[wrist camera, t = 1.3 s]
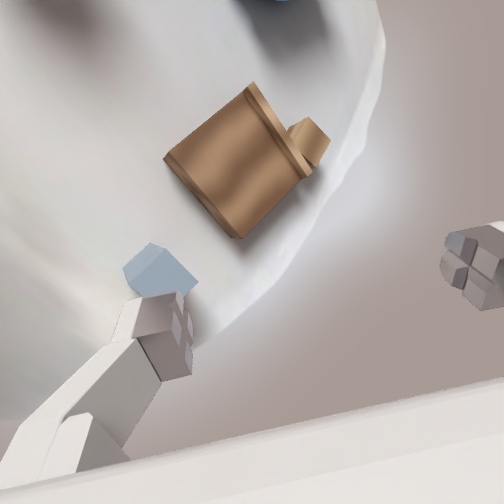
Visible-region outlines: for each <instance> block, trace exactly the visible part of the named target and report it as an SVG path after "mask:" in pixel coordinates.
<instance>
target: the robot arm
mask: <svg viewBox="0 0 504 504" xmlns="http://www.w3.org/2000/svg"><path fill="white" fill-rule="evenodd" d="M444 246H445V247H446V248H447V251H446V252H445V253H444V254H443V256H442V257H441V261H440V270H441V274H442V276H443V277H444V279H445V281H447V282H448V283H449V284H450V285H451V286H453V287H456V288H458V289H461V290H462V295H463V297H465V298H466V299H467V300H468V301H469V302H470V303H471V304H472V305H474V306H475V307H476V308H477V309H478V310H479V311H483V310H489V309H494V308H500V307H504V221H498V222H494V223H489V224H486V225H482V226H479V227H474V228H470V229H465V230H460V231H456V232H451V233H449V234H448V236H447V237H446V239H445V244H444ZM193 335H194V334H193V325H192V321H191V317H190V314H189V311H187V310H186V309H184V299H183V296H182V294H181V292H180V291H179V290H175V291H170V292H165V293H160V294H154V295H149V296H145V297H139V298H134V299H130V300H127V301H126V302H125V303H124V305H123V308H122V311H121V314H120V316H119V319H118V322H117V325H116V328H115V331H114V333H113V336H112V339H111V342H110V344H107V345H104V346H103V347H102V348H101V349H100V350H99V351H98V352H96V353H95V354H94V355H93V356H92V357H91V358H90V359H89V360H88V361H87V362H86V363H85V364H84V365H83V366H82V367H81V368H80V369H79V370H78V371H77V372H75V373H74V374H73V375H72V376H71V377H70V378H69V379H68V380H67V381H66V382H65V383H64V384H63V385H62V386H61V387H60V388H59V389H58V390H57V391H56V392H54V393H53V394H52V395H51V396H50V397H49V398H48V399H47V400H46V401H45V402H44V403H43V404H42V405H41V406H40V407H39V408H38V409H37V410H36V411H35V412H33V413H32V414H31V415H30V416H29V417H28V418H27V419H26V420H25V421H24V422H23V423H22V424H21V425H20V426H19V428H18V430H17V432H16V434H15V436H14V437H13V439H12V441H11V444H10V445H9V447H8V449H7V451H6V453H5V455H4V456H3V458H2V460H1V462H0V504H504V376H502V377H497V378H493V379H488V380H484V381H479V382H475V383H471V384H466V385H462V386H457V387H453V388H449V389H444V390H440V391H435V392H432V393H427V394H422V395H418V396H413V397H409V398H404V399H400V400H396V401H392V402H387V403H382V404H378V405H374V406H369V407H365V408H361V409H357V410H352V411H347V412H343V413H338V414H334V415H330V416H325V417H321V418H316V419H312V420H307V421H303V422H299V423H294V424H290V425H286V426H281V427H277V428H272V429H268V430H263V431H259V432H254V433H250V434H246V435H241V436H237V437H233V438H228V439H223V440H219V441H215V442H210V443H206V444H201V445H197V446H193V447H188V448H184V449H179V450H175V451H171V452H166V453H162V454H157V455H153V456H148V457H144V458H139V459H135V460H131V459H130V458H129V457H128V456H127V455H126V454H125V453H124V451H123V450H122V447H123V446H124V444H125V442H126V441H127V439H128V438H129V436H130V434H131V433H132V431H133V430H134V428H135V426H136V425H137V423H138V422H139V420H140V418H141V417H142V415H143V413H144V412H145V410H146V408H147V407H148V405H149V404H150V402H151V401H152V399H153V397H154V396H155V394H156V393H157V391H158V389H159V388H160V386H161V384H162V383H161V382H164V381H168V380H172V379H176V378H180V377H184V376H188V375H191V374H192V359H193V354H192V351H191V349H190V346H191V344H192V343H193Z"/></svg>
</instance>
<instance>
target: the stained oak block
mask: <svg viewBox="0 0 504 504" xmlns="http://www.w3.org/2000/svg"><path fill="white" fill-rule="evenodd" d="M287 133H288V134H289V136H290V137H291V139H292V141H293V142H294V144H295V145H296V147H297V148H298V150H299V151H300V153H301V154H302V156H303V157H304V159H305V160H306V162H307V163H308V165H309V166H310V168H311V169H312V168H316V166H317V164H318V163H319V161H320V159H321V157H322V156H323V154H324V152H325V150H326V149H327V147H328V145H329V143H330V141H331V140H330V139H329V138H328V137H327V136H326V135H325V134H324V132H323V131H322V130H321V129H320V128H319V127H318V126H317V125H316V124H315V123H314V122H313V121H312V120H311V119H310V118H309V117H307V118H305V119H303V120H302V121H300V122H298V123H296V124H295V125H293V126H291V127H289V129H288V130H287Z"/></svg>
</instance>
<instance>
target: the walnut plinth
mask: <svg viewBox="0 0 504 504" xmlns="http://www.w3.org/2000/svg"><path fill="white" fill-rule="evenodd" d="M163 159H164V160H165V161H166V163H167V164H168V165H169V166H170V167H171V168H172V170H173V171H174V172H175V173H176V174H177V175H178V177H179V178H180V179H181V180H182V181H183V182H184V184H185V185H186V186H187V187H188V188H189V189H190V190H191V192H192V193H193V194H194V195H195V196H196V197H197V199H198V200H199V201H200V202H201V203H202V204H203V206H204V207H205V208H206V209H207V210H208V211H209V213H210V214H211V215H212V216H213V217H214V218H215V219H216V221H217V222H218V223H219V224H220V225H221V226H222V228H223V229H224V230H225V231H226V232H227V233H228V235H229V236H230V237H231V238H240V239H243V238H244V237H245V236H246V235H247V234H248V233H249V232H250V231H251V230H252V228H253V227H254V226H255V225H256V224H257V223H258V222H259V221H260V220H261V219H262V218H263V217H264V216H265V215H266V214H267V213H268V212H269V211H270V210H271V209H272V208H273V207H274V206H275V205H276V204H277V203H278V202H279V201H280V200H281V199H282V198H283V197H284V196H285V195H286V194H287V193H288V192H289V191H290V190H291V189H292V188H293V187H294V186H295V185H296V184H297V183H298V182H299V181H300V180H301V179H302V178H306V177H308V176H309V175H310V174H311V173H312V172H313V171H312V170H311V168H310V166H309V165H308V163H307V162H306V160H305V159H304V157H303V156H302V154H301V153H300V151H299V150H298V148H297V147H296V145H295V144H294V142H293V141H292V139H291V137H290V136H289V134H288V133H287V131H286V130H285V128H284V127H283V125H282V124H281V122H280V121H279V119H278V118H277V116H276V115H275V113H274V111H273V110H272V108H271V107H270V105H269V104H268V102H267V101H266V99H265V98H264V96H263V95H262V93H261V92H260V90H259V89H258V87H257V85H256V84H255V82H254V81H253V82H252V83H251V84H250V85H249V86H247V87H246V88H245V89H244V90H243V91H242V92H241V93H240V94H239V95H238V96H236V97H235V98H234V99H233V100H231V101H230V102H229V103H228V104H227V105H225V106H224V107H223V108H222V109H220V110H219V111H218V112H217V113H215V114H214V115H213V116H212V117H211V118H209V119H208V120H207V121H206V122H204V123H203V124H202V125H201V126H200V127H198V128H197V129H196V130H195V131H193V132H192V133H191V134H190V135H188V136H187V137H186V138H185V139H184V140H182V141H181V142H180V143H179V144H177V145H176V146H175V147H174V148H172V149H171V150H170V151H169V152H168V153H167V155H166V156H165V157H164V158H163Z"/></svg>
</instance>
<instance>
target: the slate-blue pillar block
mask: <svg viewBox="0 0 504 504" xmlns="http://www.w3.org/2000/svg"><path fill="white" fill-rule="evenodd" d="M123 270H124V273H125V276H126V279H127V282H128V285H130V286H131V287H132V288H133V289H134V290H135V291H136V292H137V293H139V294H140V295H141V296H142V297H145V296H149V295H154V294H160V293H165V292H170V291H175V290H179V291H180V292H181V294H182V296H183V297H184V296H185V295H186V294H187V293H188V292H189V291H190V290H191V289H192V288H193V287H194V286H195V285H196V284H197V283H198V281H197V280H196V279H195V278H194V277H193V276H192V275H191V274H190V273H189V272H188V271H187V270H186V269H185V268H184V267H183V266H182V265H181V264H180V263H179V262H178V261H177V260H176V259H175V258H174V257H173V256H172V255H171V254H170V253H169V252H168V251H167V250H166V249H165V248H162V247H159V246H156V245H154V244H151V243H149V244H148V245H147V246H146V247H145V248H144V249H143V250H142V251H141V252H139V253H138V254H137V255H136V256H135V257H134V258H133V259H132V260H131V261H130V262H128V263H127V264H126V265H125V266H124V267H123Z"/></svg>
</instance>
